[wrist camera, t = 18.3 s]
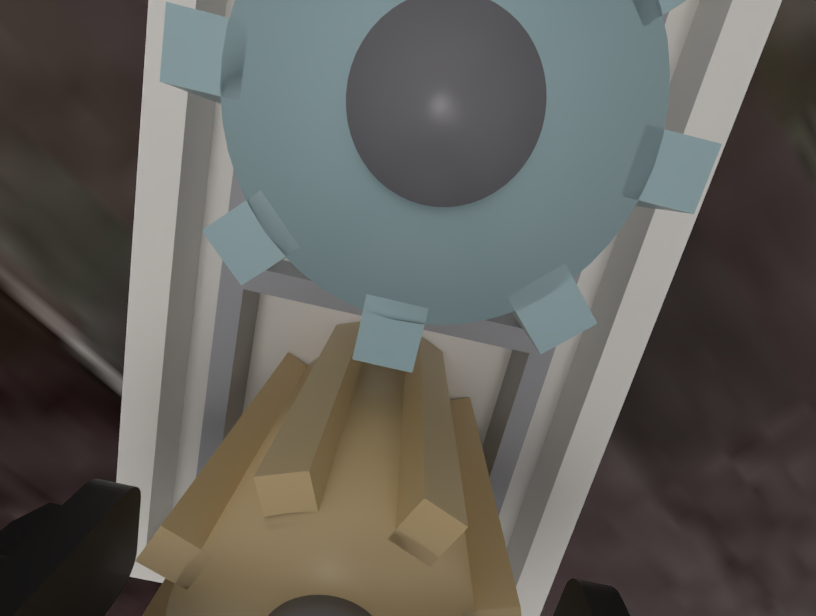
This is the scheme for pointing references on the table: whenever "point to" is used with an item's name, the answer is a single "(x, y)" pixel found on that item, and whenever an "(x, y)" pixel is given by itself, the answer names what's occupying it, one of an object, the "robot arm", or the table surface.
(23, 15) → the table surface
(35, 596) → the robot arm
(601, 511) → the table surface
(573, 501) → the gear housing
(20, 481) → the table surface
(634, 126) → the teal gear
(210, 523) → the amber gear
